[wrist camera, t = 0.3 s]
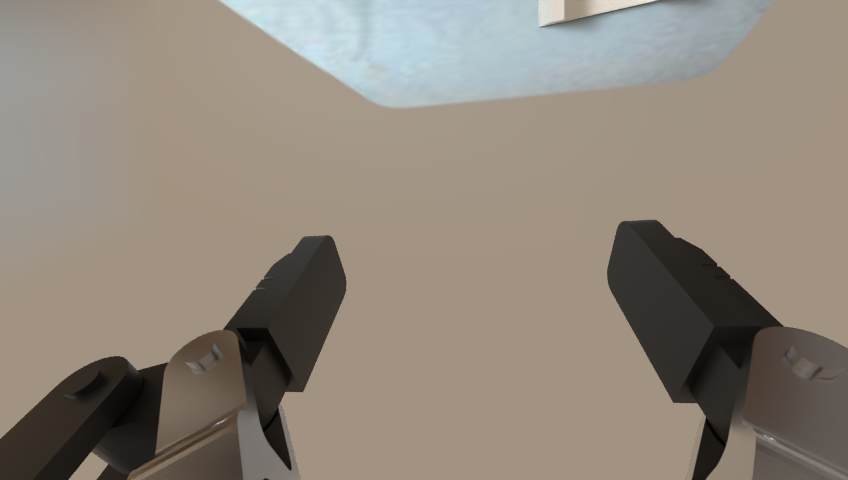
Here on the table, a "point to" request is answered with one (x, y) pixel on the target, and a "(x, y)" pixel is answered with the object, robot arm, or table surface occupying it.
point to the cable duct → (579, 9)
